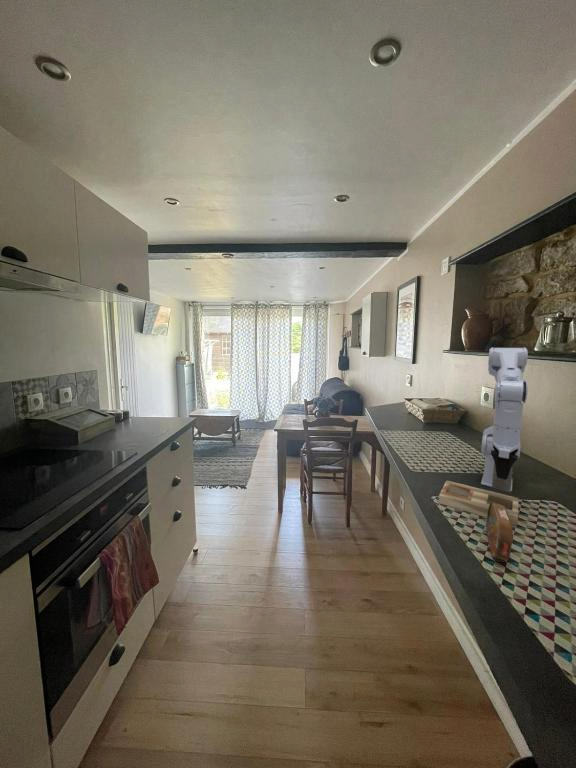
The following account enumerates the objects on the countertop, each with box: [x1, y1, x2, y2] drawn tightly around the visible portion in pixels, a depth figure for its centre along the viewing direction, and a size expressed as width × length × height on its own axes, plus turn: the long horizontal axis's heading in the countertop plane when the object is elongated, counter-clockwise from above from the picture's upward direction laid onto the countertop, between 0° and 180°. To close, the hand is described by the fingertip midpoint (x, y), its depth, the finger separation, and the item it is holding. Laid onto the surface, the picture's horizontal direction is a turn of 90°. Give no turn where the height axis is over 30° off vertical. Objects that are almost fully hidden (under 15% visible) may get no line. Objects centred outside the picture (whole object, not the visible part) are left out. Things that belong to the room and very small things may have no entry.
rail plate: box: [438, 480, 519, 527], centre depth 85 cm, size 11×18×3 cm, turn 52°
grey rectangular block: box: [491, 462, 514, 493], centre depth 81 cm, size 4×4×7 cm
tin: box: [485, 502, 514, 561], centre depth 68 cm, size 15×3×8 cm, turn 153°
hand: (502, 474), depth 81 cm, fingers closed on grey rectangular block, 4 cm apart
